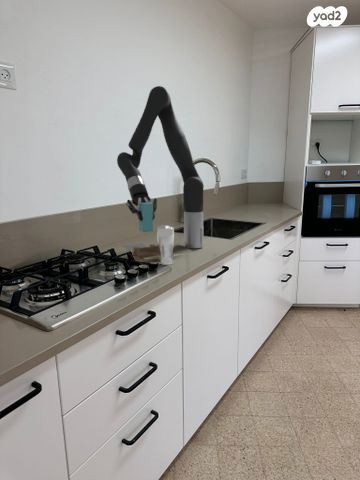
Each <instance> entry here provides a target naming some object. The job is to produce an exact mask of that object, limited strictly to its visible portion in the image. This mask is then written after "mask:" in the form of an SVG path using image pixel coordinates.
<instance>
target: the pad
mask: <svg viewBox="0 0 360 480" xmlns="http://www.w3.org/2000/svg"><path fill="white" fill-rule="evenodd" d="M133 246H137V247H139V248H142V247H148V246H147V245H146V244H144V243H141V242H140V243H133V244H125V245H122V247H123V248H125V249H127V250H128V251H133Z"/></svg>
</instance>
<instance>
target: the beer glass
mask: <svg viewBox="0 0 360 480" xmlns="http://www.w3.org/2000/svg"><path fill="white" fill-rule="evenodd" d="M156 229H157V230H156V242H157V243H156V244H157V246H158V248H159V261H158V264H159V265H160V264H162V265H161V266H170V265H173V264H174V257H173V251H174V245H175V228H174V226H173V225H159V226H157V228H156Z"/></svg>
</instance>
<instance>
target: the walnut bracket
mask: <svg viewBox="0 0 360 480" xmlns="http://www.w3.org/2000/svg"><path fill="white" fill-rule="evenodd" d="M127 252H128V251H127ZM127 252H126V251H125V252H124V254H126V253H127ZM131 252H132V254H133V256H134V259H135V260H136V261H142V262H148V263H153V262H155V263H156V262H159V248H158V245H155V244H154V243H152V244H150V245H149V246H147V247H142V248H139V247H137V246H133V250H132V251H131Z"/></svg>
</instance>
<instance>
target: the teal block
mask: <svg viewBox="0 0 360 480" xmlns="http://www.w3.org/2000/svg"><path fill="white" fill-rule="evenodd" d="M139 205H140V211H141V213H142V216H143V220H142V221H140V220H139V219H138V223H139V227H138V229H139V231H140V233H141V232H142V233H149V232H150V233H152V232H154V220H153V203H151V202H150V203H149V202H145V203H139Z"/></svg>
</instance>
